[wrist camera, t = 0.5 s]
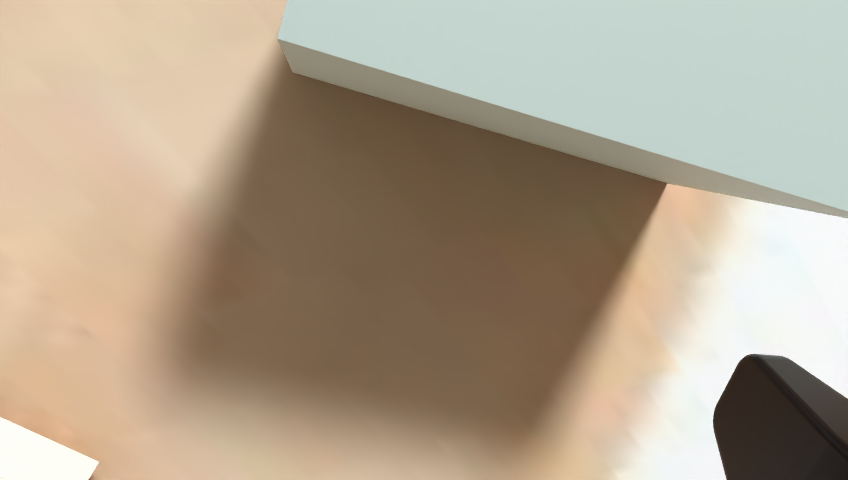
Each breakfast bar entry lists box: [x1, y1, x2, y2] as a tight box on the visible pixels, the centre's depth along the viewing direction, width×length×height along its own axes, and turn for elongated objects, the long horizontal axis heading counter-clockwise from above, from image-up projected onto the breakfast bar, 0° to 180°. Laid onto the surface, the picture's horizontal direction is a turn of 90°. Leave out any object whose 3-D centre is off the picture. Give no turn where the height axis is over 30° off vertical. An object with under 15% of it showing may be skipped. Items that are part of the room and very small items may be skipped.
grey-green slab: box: [277, 0, 848, 218], centre depth 18 cm, size 4×12×10 cm, turn 74°
